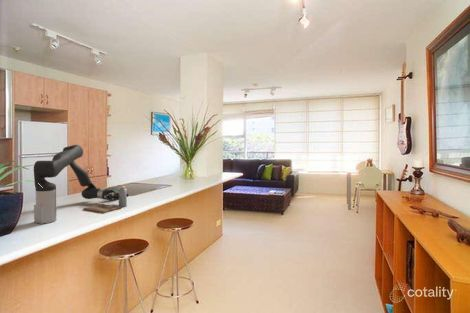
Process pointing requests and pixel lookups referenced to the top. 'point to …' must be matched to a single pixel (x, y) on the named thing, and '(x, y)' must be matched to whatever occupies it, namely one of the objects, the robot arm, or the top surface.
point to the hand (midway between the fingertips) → (123, 196)
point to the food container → (115, 190)
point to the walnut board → (102, 208)
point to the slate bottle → (122, 196)
